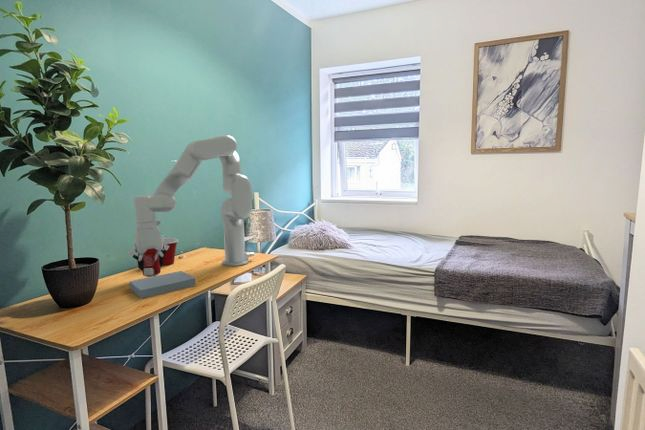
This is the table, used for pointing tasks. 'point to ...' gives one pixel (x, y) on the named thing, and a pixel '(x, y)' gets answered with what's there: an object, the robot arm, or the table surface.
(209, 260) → the table surface
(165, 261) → the plastic cup
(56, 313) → the table surface
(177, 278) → the block
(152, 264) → the soda can
